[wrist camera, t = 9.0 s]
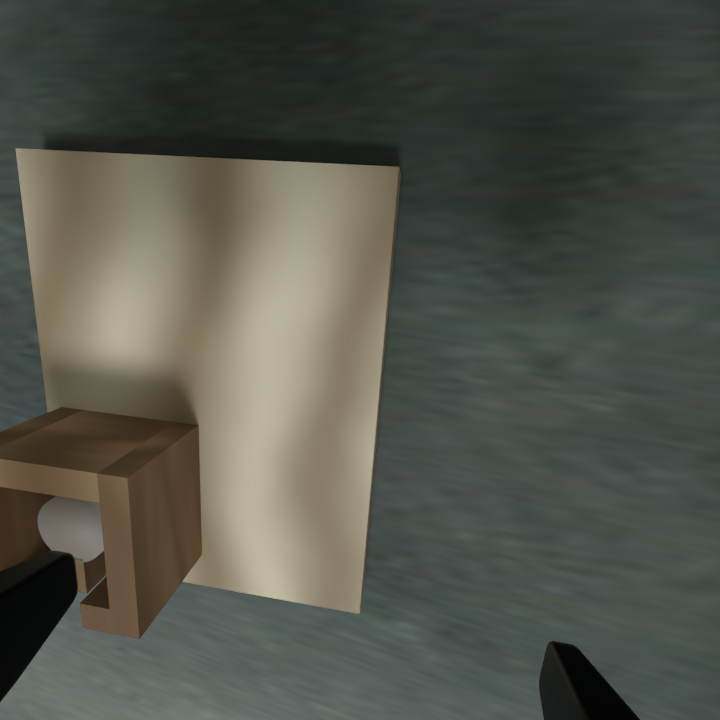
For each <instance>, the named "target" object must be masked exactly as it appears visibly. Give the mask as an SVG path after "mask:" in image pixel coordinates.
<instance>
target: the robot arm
mask: <svg viewBox="0 0 720 720" xmlns="http://www.w3.org/2000/svg"><path fill="white" fill-rule="evenodd" d="M77 592H78V580H77V572H76V563H75V558H74V556H73V555H72V554H70V553H66V552H61V551H48V552H46V553H43V554H41V555H38V556H36V557H33V558H31V559H29V560H26V561H24V562H21V563H19V564H16V565H14V566H12V567H9V568H7V569H4V570H2V571H0V702H1V700H2V699H3V698H4V697H5V695H6V694H7V693H8V692H9V690H10V689H11V688H12V687H13V685H14V684H15V683H16V681H17V680H18V678H19V677H20V676H21V674H22V673H23V672H24V670H25V669H26V668H27V666H28V665H29V663H30V662H31V661H32V659H33V658H34V656H35V655H36V653H37V652H38V651H39V649H40V648H41V646H42V645H43V644H44V642H45V641H46V639H47V638H48V637H49V635H50V634H51V632H52V631H53V629H54V628H55V627H56V625H57V624H58V622H59V621H60V620H61V618H62V617H63V615H64V614H65V613H66V611H67V610H68V608H69V607H70V605H71V604H72V603H73V601H74V599H75V597H76V595H77ZM539 689H540V697H541V704H542V710H543V716H544V720H640V719H639V718H638V717H637V715H636V714H635V713H634V712H633V711H632V710H631V709H630V707H629V706H628V705H627V704H626V703H625V702H624V701H623V699H622V698H621V697H620V696H619V695H618V694H617V692H616V691H615V690H614V689H613V688H612V687H611V686H610V684H609V683H608V682H607V681H606V680H605V679H604V678H603V676H602V675H601V674H600V673H599V672H598V671H597V669H596V668H595V667H594V666H593V665H592V664H591V663H590V661H589V660H588V659H587V658H586V657H585V656H584V655H583V653H582V652H581V651H580V650H579V649H578V648H577V647H575V646H574V645H572V644H566V643H561V642H555V641H551V642H549V644H548V645H547V648H546V652H545V657H544V661H543V665H542V670H541V674H540V680H539Z"/></svg>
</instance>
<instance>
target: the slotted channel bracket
mask: <svg viewBox="0 0 720 720" xmlns="http://www.w3.org/2000/svg"><path fill="white" fill-rule="evenodd" d="M56 496H61V497H67V498H73V499H79V500H85V501H91V502H98V503H100V513H101V523H102V534H103V544H104V555H105V565H106V576H107V577H106V578H105V579H104V580H103V581H102V582H101V583H100V584H99V585H98V586H97V587H96V588H95V589H94V590H93V591H92V592H91V593H90V594H89V595H88V596H87V597H86V598H85V599H84V600H83V601H82V602H81V603H80V609H81V618H82V626H83V628H87V629H92V630H97V631H102V632H106V633H111V634H116V635H121V636H126V637H131V638H136V639H140V638H141V636H142V635H143V634H144V632H145V631H146V630H147V628H148V627H149V626H150V624H151V623H152V621H153V620H154V619H155V617H156V616H157V615H158V613H159V612H160V611H161V609H162V608H163V607H164V605H165V604H166V603H167V601H168V600H169V599H170V597H171V596H172V595H173V593H174V592H175V591H176V589H177V588H178V587H179V585H180V584H181V582H182V581H183V580H184V578H185V577H186V576H187V574H188V573H189V572H190V570H191V569H192V568H193V566H194V565H195V564H196V562H197V561H198V560H199V558H200V557H201V556H202V533H201V495H200V457H199V425H194V424H186V423H179V422H171V421H164V420H156V419H149V418H141V417H133V416H126V415H118V414H111V413H103V412H96V411H88V410H81V409H73V408H65V407H60V408H58V409H55V410H53V411H51V412H48V413H46V414H43V415H41V416H38V417H36V418H33V419H31V420H29V421H26V422H24V423H21V424H19V425H16V426H14V427H12V428H9V429H7V430H4V431H2V432H0V571H2V570H4V569H7V568H9V567H12V566H14V565H16V564H19V563H21V562H24V561H26V560H29V559H31V558H33V557H36V556H38V555H41V554H43V553H46V552H48V551H52V550H51V549H50V548H49V547H48V546H47V545H46V543H45V542H44V540H43V539H42V537H41V535H40V532H39V529H38V514H39V511H40V509H41V508H42V506H43V505H44V504H45V503H46V502H48V501H49V500H51V499H52V498H54V497H56Z"/></svg>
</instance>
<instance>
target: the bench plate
mask: <svg viewBox="0 0 720 720" xmlns="http://www.w3.org/2000/svg"><path fill="white" fill-rule="evenodd" d="M16 157H17V165H18V173H19V181H20V189H21V197H22V206H23V214H24V222H25V230H26V238H27V247H28V255H29V263H30V271H31V279H32V287H33V296H34V304H35V312H36V320H37V328H38V337H39V345H40V353H41V361H42V369H43V377H44V386H45V394H46V402H47V410H48V412H51V411H53V410H55V409H58V408H60V407H65V408H73V409H81V410H88V411H96V412H103V413H111V414H118V415H126V416H133V417H141V418H149V419H156V420H164V421H171V422H179V423H186V424H194V425H199V457H200V495H201V533H202V556H201V557H200V558H199V560H198V561H197V562H196V564H195V565H194V566H193V568H192V569H191V570H190V572H189V573H188V574H187V576H186V577H185V578H184V580H183V581H182V582H187V583H193V584H198V585H204V586H209V587H215V588H220V589H226V590H231V591H237V592H242V593H248V594H253V595H259V596H264V597H269V598H275V599H280V600H286V601H291V602H297V603H302V604H308V605H313V606H319V607H324V608H330V609H335V610H341V611H346V612H352V613H357V614H360V608H361V603H362V597H363V591H364V582H365V571H366V560H367V549H368V538H369V527H370V516H371V505H372V494H373V483H374V472H375V460H376V449H377V438H378V427H379V416H380V405H381V394H382V383H383V372H384V361H385V350H386V338H387V327H388V316H389V305H390V294H391V283H392V272H393V261H394V250H395V239H396V228H397V216H398V205H399V194H400V183H401V172H400V168H399V167H393V166H372V165H352V164H331V163H310V162H289V161H269V160H248V159H227V158H206V157H185V156H165V155H144V154H123V153H102V152H81V151H61V150H40V149H19V148H16ZM38 529H39V532H40V535H41V537H42V539H43V540H44V542H45V543H46V545H47V546H48V547H49V548H50V549H51V550H52V551H61V552H66V553H70V554H72V555H73V556H74V558H75V563H76V572H77V580H78V592H82V593H88V592H89V591H90V590H91V589H92V588H93V587H94V586H95V585H96V584H97V583H98V582H99V581H100V580H101V579H102V578H103V577H104V576H105V575H106V565H105V555H104V544H103V534H102V523H101V513H100V503H98V502H91V501H85V500H79V499H73V498H67V497H61V496H56V497H54V498H52V499H51V500H49V501H48V502H46V503H45V504H44V505H43V506H42V508H41V509H40V511H39V514H38Z"/></svg>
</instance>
